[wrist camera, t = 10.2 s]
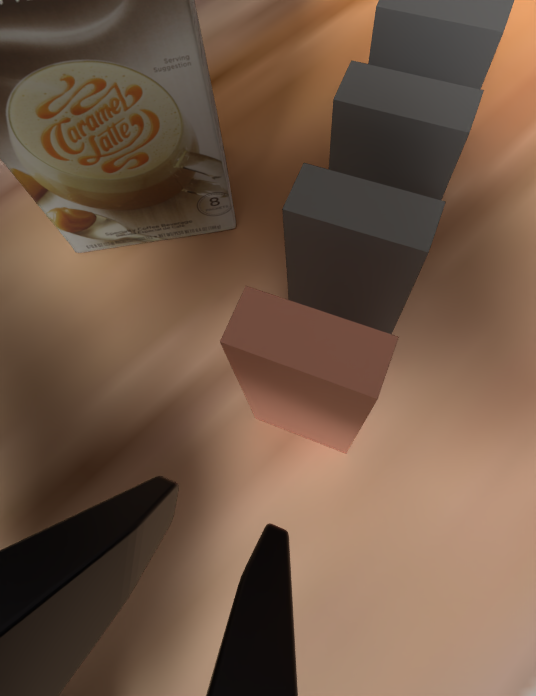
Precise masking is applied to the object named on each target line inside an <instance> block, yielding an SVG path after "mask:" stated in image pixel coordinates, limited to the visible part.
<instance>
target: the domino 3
mask: <svg viewBox="0 0 536 696" xmlns="http://www.w3.org/2000/svg"><path fill="white" fill-rule="evenodd" d="M444 205H445V201H441V200H438V199H434V198H430V197H427V196H423V195H420V194H416V193H412V192H409V191H405V190H401V189H398V188H394V187H390V186H387V185H383V184H379V183H376V182H372V181H368V180H365V179H361V178H357V177H354V176H350V175H347V174H343V173H339V172H336V171H332V170H328V169H325V168H321V167H317V166H314V165H310V164H306V163H303V166H302V168H301V170H300V172H299V174H298V176H297V179H296V181H295V183H294V185H293V187H292V189H291V192H290V194H289V196H288V198H287V200H286V202H285V205H284V207H283V209H282V211H283V225H284V239H285V253H286V267H287V281H288V295H289V300H290V301H293V302H296V303H299V304H302V305H305V306H308V307H311V308H314V309H317V310H320V311H323V312H326V313H329V314H332V315H335V316H338V317H341V318H344V319H347V320H350V321H353V322H356V323H359V324H362V325H365V326H368V327H371V328H374V329H377V330H380V331H383V332H386V333H389V334H392V332H393V330H394V328H395V325H396V323H397V321H398V319H399V316H400V314H401V312H402V310H403V308H404V305H405V303H406V301H407V299H408V297H409V294H410V292H411V290H412V288H413V286H414V283H415V281H416V279H417V277H418V275H419V272H420V270H421V268H422V266H423V263H424V261H425V259H426V257H427V255H428V252H429V249H430V247H431V244H432V241H433V238H434V235H435V232H436V229H437V226H438V223H439V220H440V217H441V214H442V211H443V208H444Z"/></svg>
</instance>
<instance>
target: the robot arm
mask: <svg viewBox="0 0 536 696" xmlns="http://www.w3.org/2000/svg"><path fill="white" fill-rule="evenodd" d="M178 489H179V488H178V484H177V483H176V482H174V481H172V480H169V479H167V478H165V477H162V476H157V477H155V478H153V479H150V480H148V481H146V482H144V483H142V484H140V485H138V486H136V487H133V488H131V489H129V490H127V491H125V492H123V493H121V494H119V495H117V496H114V497H112V498H110V499H108V500H106V501H104V502H102V503H100V504H98V505H95V506H93V507H91V508H89V509H87V510H85V511H83V512H81V513H79V514H76V515H74V516H72V517H70V518H68V519H66V520H64V521H62V522H59V523H57V524H55V525H53V526H51V527H49V528H47V529H45V530H43V531H40V532H38V533H36V534H34V535H32V536H30V537H28V538H26V539H24V540H21V541H19V542H17V543H15V544H13V545H11V546H9V547H7V548H4V549H2V550H0V696H59V694H60V693H61V691H62V690H63V689H64V687H65V686H66V684H67V683H68V682H69V680H70V679H71V677H72V676H73V675H74V673H75V672H76V671H77V669H78V668H79V666H80V665H81V664H82V662H83V661H84V659H85V658H86V657H87V655H88V654H89V652H90V651H91V650H92V648H93V647H94V646H95V644H96V643H97V641H98V640H99V639H100V637H101V636H102V634H103V633H104V632H105V630H106V629H107V627H108V626H109V625H110V623H111V622H112V621H113V619H114V618H115V616H116V615H117V614H118V612H119V611H120V609H121V608H122V606H123V605H124V603H125V602H126V601H127V599H128V598H129V596H130V594H131V592H132V591H133V589H134V587H135V586H136V584H137V582H138V580H139V579H140V577H141V575H142V573H143V572H144V570H145V568H146V566H147V565H148V563H149V561H150V559H151V558H152V556H153V554H154V552H155V551H156V549H157V547H158V545H159V544H160V542H161V540H162V538H163V537H164V535H165V533H166V531H167V529H168V528H169V526H170V524H171V522H172V519H173V516H174V512H175V506H176V501H177V495H178ZM206 696H298V691H297V674H296V656H295V638H294V620H293V603H292V585H291V567H290V549H289V535H288V532H287V531H286V530H284V529H282V528H280V527H278V526H275V525H273V524H267V525H266V527H265V528H264V530H263V532H262V535H261V537H260V539H259V541H258V543H257V545H256V547H255V549H254V551H253V553H252V555H251V557H250V559H249V561H248V563H247V565H246V567H245V569H244V571H243V574H242V576H241V579H240V582H239V585H238V588H237V591H236V595H235V598H234V602H233V605H232V608H231V612H230V615H229V619H228V622H227V626H226V629H225V632H224V636H223V639H222V643H221V646H220V649H219V653H218V656H217V660H216V663H215V667H214V670H213V674H212V677H211V681H210V684H209V688H208V691H207V695H206Z"/></svg>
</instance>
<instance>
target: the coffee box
mask: <svg viewBox="0 0 536 696" xmlns="http://www.w3.org/2000/svg"><path fill="white" fill-rule="evenodd" d="M0 159H1V160H2V161H3V162H4V164H5V165H6V166H7V167H8V169H9V170H10V171H11V172H12V173H13V175H14V176H15V177H16V178H17V180H18V181H19V182H20V183H21V184H22V186H23V187H24V188H25V189H26V191H27V192H28V193H29V194H30V196H31V197H32V198H33V199H34V201H35V202H36V203H37V204H38V206H39V207H40V208H41V209H42V210H43V212H44V213H45V214H46V216H47V217H48V218H49V219H50V220H51V222H52V223H53V224H54V225H55V226H56V227H57V229H58V230H59V231H60V232H61V234H62V235H63V236H64V237H65V239H66V240H67V241H68V242H69V244H70V245H71V246H72V248H73V249H74V251H75V252H77V253H82V252H89V251H95V250H101V249H108V248H115V247H121V246H127V245H133V244H140V243H146V242H153V241H159V240H166V239H172V238H179V237H185V236H191V235H198V234H205V233H211V232H217V231H223V230H229V229H233V228H235V227H236V219H235V212H234V207H233V201H232V195H231V189H230V182H229V176H228V170H227V164H226V158H225V153H224V147H223V142H222V137H221V131H220V126H219V120H218V115H217V109H216V105H215V100H214V96H213V91H212V85H211V80H210V75H209V70H208V65H207V61H206V55H205V50H204V45H203V40H202V35H201V30H200V26H199V21H198V16H197V11H196V6H195V0H0Z"/></svg>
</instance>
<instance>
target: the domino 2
mask: <svg viewBox="0 0 536 696" xmlns="http://www.w3.org/2000/svg"><path fill="white" fill-rule="evenodd" d="M483 91H484V90H480V89H476V88H471V87H467V86H462V85H458V84H453V83H449V82H445V81H440V80H436V79H431V78H427V77H422V76H418V75H414V74H409V73H405V72H400V71H396V70H392V69H387V68H383V67H378V66H374V65H369V64H365V63H361V62H356V61H352V60H351V62H350V65H349V67H348V69H347V71H346V73H345V75H344V78H343V80H342V82H341V84H340V86H339V88H338V91H337V93H336V95H335V97H334V99H333V113H332V128H331V143H330V158H329V170H332V171H336V172H339V173H343V174H347V175H350V176H354V177H357V178H361V179H365V180H368V181H372V182H376V183H379V184H383V185H387V186H390V187H394V188H398V189H401V190H405V191H409V192H412V193H416V194H420V195H423V196H427V197H430V198H434V199H438V200H441V199H442V197H443V194H444V192H445V190H446V187H447V185H448V183H449V180H450V178H451V175H452V173H453V171H454V168H455V166H456V163H457V161H458V159H459V156H460V154H461V152H462V149H463V147H464V144H465V142H466V140H467V137H468V135H469V132H470V130H471V127H472V124H473V121H474V118H475V115H476V112H477V109H478V106H479V103H480V100H481V97H482V94H483Z"/></svg>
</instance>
